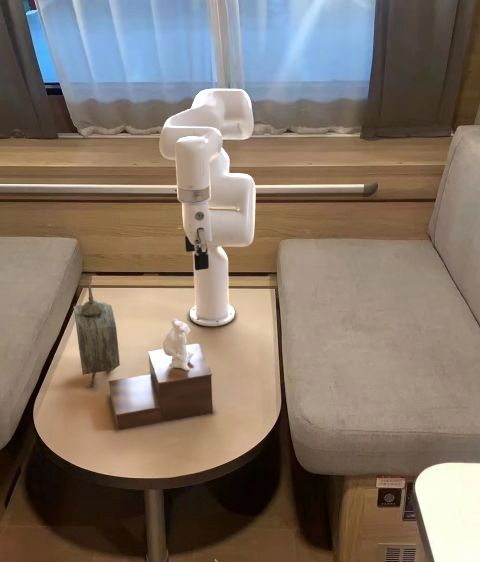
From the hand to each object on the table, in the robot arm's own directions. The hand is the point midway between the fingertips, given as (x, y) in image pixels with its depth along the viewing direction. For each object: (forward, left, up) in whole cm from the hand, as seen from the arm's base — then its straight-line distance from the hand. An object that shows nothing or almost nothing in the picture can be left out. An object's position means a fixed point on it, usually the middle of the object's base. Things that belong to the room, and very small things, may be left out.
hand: (197, 259), depth 179 cm
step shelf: (+14, -13, -30) cm, 35 cm away
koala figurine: (+14, -8, -19) cm, 25 cm away
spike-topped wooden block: (-3, -25, -30) cm, 39 cm away
